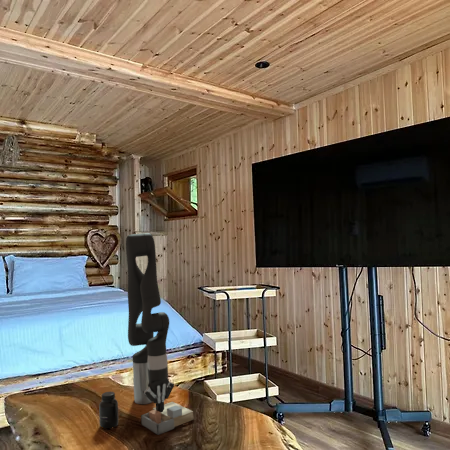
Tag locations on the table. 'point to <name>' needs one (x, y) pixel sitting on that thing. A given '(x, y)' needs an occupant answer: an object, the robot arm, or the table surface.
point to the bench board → (185, 417)
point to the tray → (155, 427)
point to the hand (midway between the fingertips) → (160, 411)
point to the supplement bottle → (108, 410)
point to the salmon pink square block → (155, 416)
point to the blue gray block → (174, 411)
